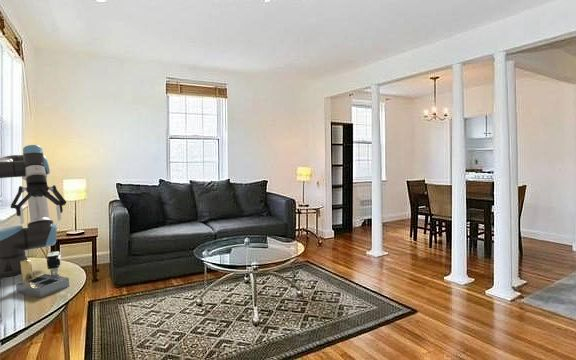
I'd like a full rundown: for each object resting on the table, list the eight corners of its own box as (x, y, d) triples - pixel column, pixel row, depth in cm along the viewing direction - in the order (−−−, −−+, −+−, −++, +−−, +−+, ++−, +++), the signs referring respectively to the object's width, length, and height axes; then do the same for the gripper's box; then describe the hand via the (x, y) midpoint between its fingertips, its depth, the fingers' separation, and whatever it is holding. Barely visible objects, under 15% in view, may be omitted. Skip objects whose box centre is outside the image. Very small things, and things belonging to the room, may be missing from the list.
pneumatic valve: (48, 279, 174) (45, 255, 173) (50, 272, 184) (48, 249, 183) (61, 277, 177) (59, 253, 175) (63, 270, 187) (61, 247, 186)
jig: (16, 293, 159) (15, 284, 158) (46, 282, 171) (45, 274, 170) (40, 297, 153) (39, 288, 152) (69, 286, 165) (68, 277, 164)
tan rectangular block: (21, 286, 166) (18, 261, 165) (30, 283, 170) (27, 258, 169) (26, 287, 165) (23, 262, 163) (35, 284, 168) (32, 259, 167)
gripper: (2, 173, 151) (6, 220, 145) (69, 173, 169) (76, 215, 163) (0, 181, 156) (4, 227, 150) (65, 180, 174) (71, 221, 167)
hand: (41, 221), depth 156 cm, fingers open, 13 cm apart
